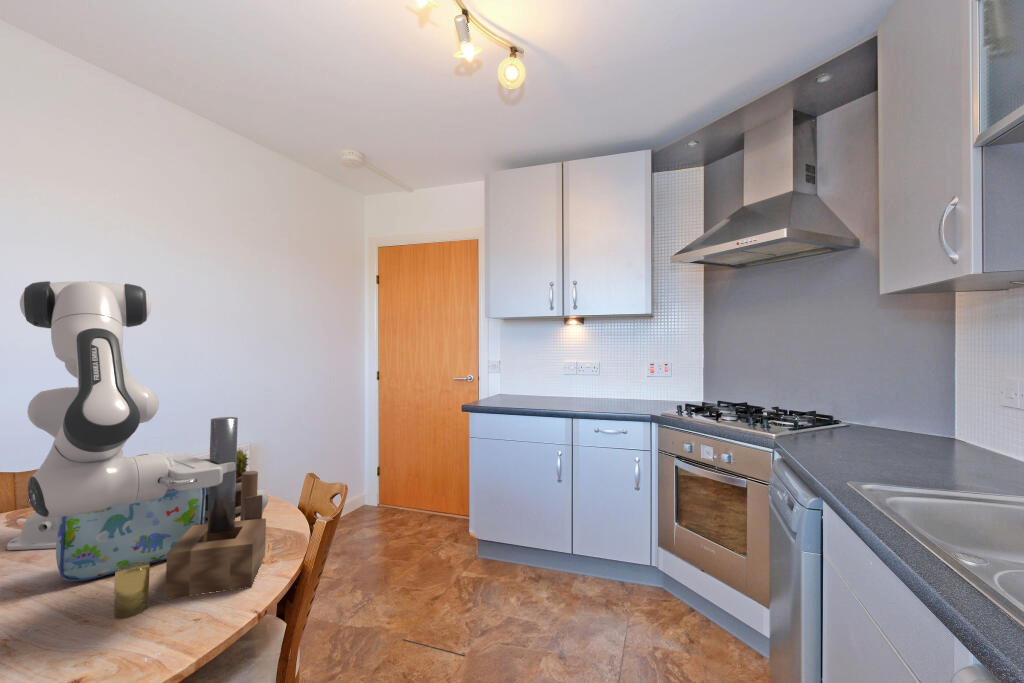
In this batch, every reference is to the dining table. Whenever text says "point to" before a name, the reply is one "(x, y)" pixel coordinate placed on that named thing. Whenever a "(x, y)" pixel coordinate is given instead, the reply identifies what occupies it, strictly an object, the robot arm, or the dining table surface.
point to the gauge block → (215, 559)
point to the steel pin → (224, 493)
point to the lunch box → (125, 534)
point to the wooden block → (250, 497)
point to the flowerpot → (240, 469)
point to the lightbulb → (263, 498)
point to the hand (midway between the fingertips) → (227, 463)
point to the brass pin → (131, 589)
